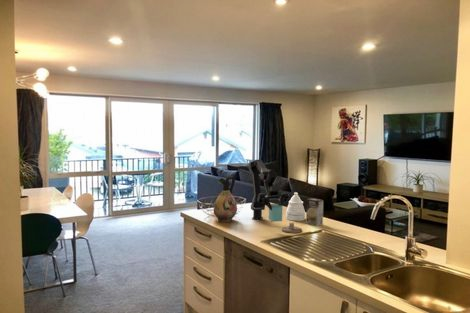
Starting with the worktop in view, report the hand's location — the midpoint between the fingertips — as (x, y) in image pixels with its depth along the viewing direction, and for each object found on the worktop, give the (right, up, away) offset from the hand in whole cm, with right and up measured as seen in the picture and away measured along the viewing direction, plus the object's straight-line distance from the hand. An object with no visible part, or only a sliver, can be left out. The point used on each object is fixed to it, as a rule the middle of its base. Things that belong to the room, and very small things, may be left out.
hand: (276, 209), depth 201 cm
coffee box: (+27, -13, +22) cm, 37 cm away
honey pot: (+17, -12, +36) cm, 42 cm away
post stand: (+10, -13, +5) cm, 17 cm away
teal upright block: (0, -7, +2) cm, 7 cm away
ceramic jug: (-30, -12, +29) cm, 43 cm away
